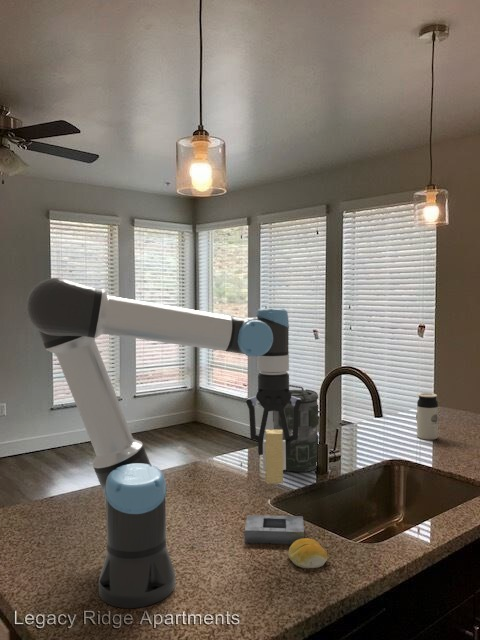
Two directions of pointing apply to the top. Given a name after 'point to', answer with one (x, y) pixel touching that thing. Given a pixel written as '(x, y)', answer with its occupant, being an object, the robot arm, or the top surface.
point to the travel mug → (427, 416)
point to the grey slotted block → (273, 529)
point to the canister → (301, 430)
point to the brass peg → (274, 456)
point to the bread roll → (307, 553)
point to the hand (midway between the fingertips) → (274, 467)
